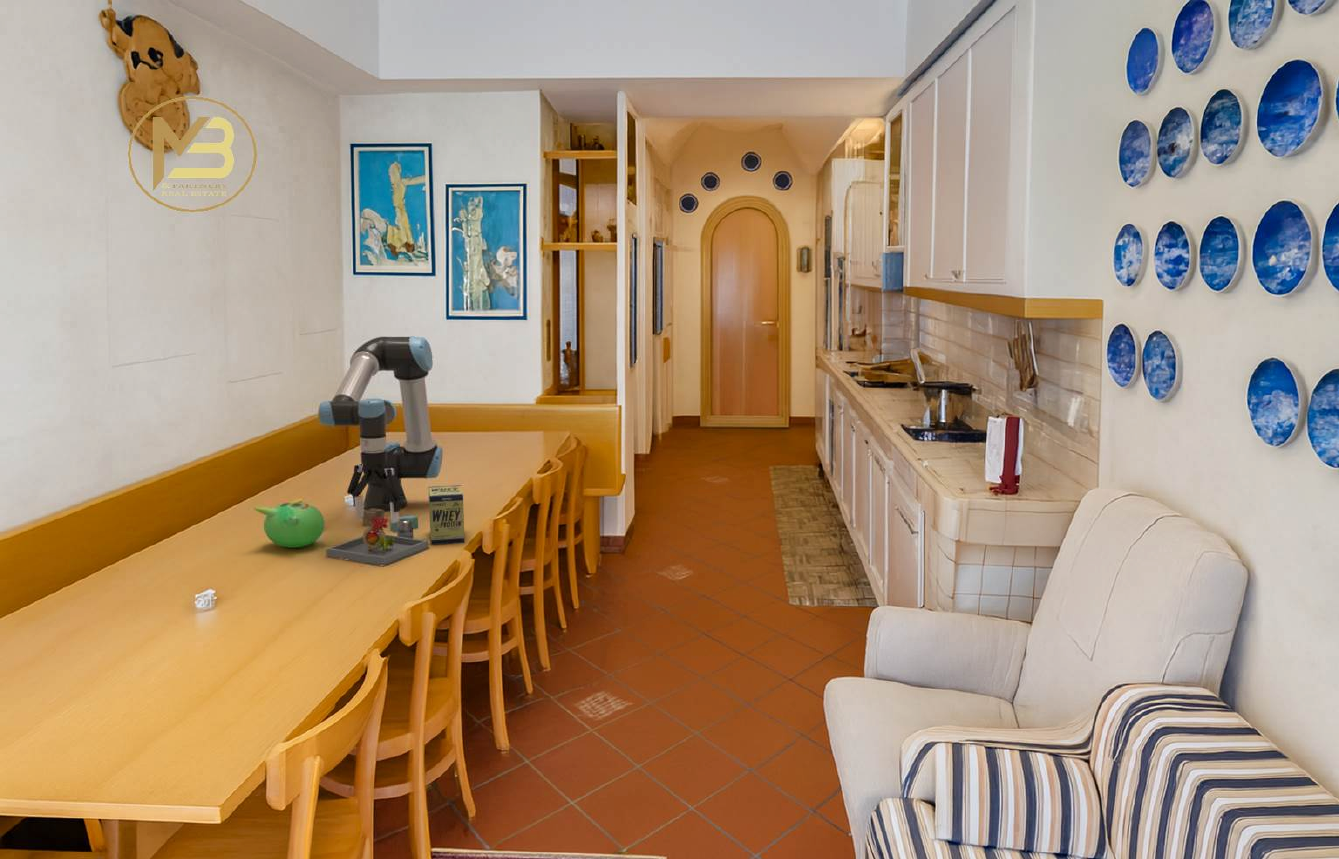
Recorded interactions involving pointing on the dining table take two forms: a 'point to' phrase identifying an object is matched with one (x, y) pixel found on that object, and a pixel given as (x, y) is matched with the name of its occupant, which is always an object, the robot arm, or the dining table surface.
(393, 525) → the teal brick
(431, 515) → the protein box
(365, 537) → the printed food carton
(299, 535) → the green rounded blob
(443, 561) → the dining table surface
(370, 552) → the tray
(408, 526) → the metal cylinder
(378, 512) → the walnut cube
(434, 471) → the robot arm
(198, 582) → the dining table surface
